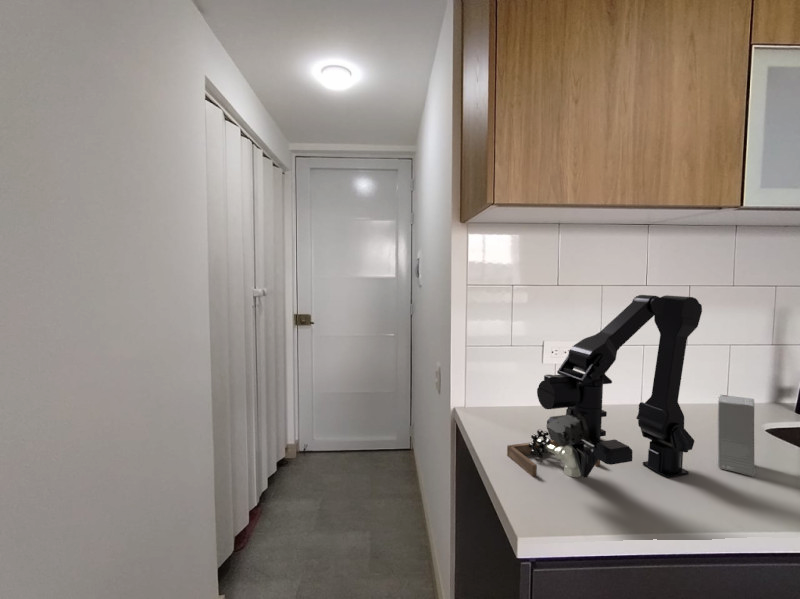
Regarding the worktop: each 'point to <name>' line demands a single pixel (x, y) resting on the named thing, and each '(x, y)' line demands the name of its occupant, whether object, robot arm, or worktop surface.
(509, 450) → the carrier bracket
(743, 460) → the skincare box
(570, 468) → the valve
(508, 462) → the worktop surface
